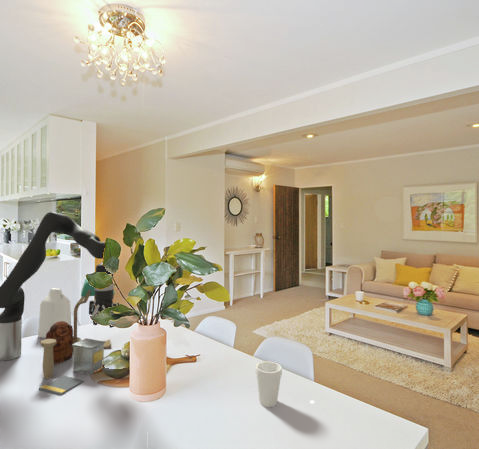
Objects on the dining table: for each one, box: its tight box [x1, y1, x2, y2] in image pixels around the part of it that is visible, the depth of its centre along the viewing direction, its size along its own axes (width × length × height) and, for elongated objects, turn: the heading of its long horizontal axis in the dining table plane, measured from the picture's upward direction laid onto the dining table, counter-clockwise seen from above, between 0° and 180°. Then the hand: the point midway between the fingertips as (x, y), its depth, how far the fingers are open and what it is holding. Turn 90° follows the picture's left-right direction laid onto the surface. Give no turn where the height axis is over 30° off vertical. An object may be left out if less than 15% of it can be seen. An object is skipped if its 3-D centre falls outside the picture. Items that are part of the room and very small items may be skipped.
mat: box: [38, 375, 85, 396], centre depth 127 cm, size 11×11×1 cm
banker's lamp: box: [71, 278, 116, 354], centre depth 165 cm, size 16×21×35 cm
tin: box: [72, 338, 105, 376], centre depth 141 cm, size 11×8×12 cm
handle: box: [40, 338, 56, 379], centre depth 134 cm, size 5×6×15 cm
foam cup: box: [255, 360, 283, 408], centre depth 118 cm, size 10×9×13 cm
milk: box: [37, 287, 72, 339], centre depth 183 cm, size 12×12×26 cm
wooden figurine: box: [45, 321, 74, 365], centre depth 150 cm, size 12×6×18 cm, turn 161°
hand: (103, 325), depth 139 cm, fingers open, 8 cm apart
